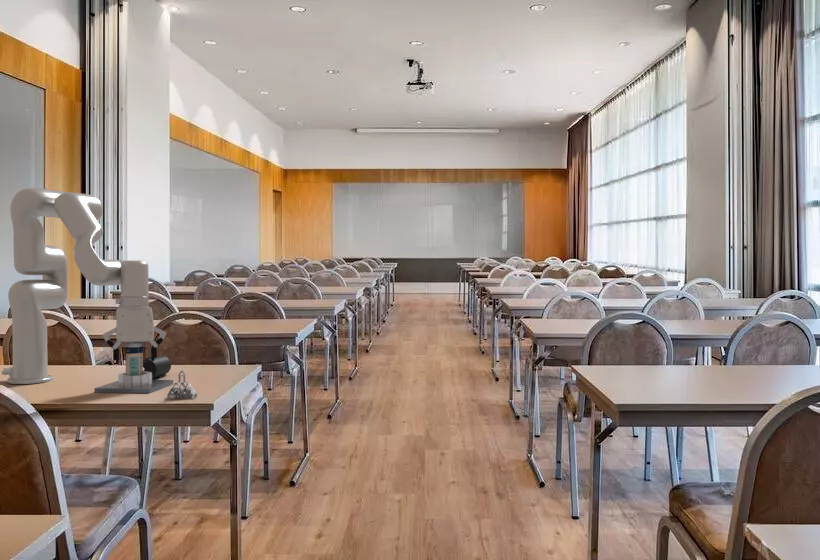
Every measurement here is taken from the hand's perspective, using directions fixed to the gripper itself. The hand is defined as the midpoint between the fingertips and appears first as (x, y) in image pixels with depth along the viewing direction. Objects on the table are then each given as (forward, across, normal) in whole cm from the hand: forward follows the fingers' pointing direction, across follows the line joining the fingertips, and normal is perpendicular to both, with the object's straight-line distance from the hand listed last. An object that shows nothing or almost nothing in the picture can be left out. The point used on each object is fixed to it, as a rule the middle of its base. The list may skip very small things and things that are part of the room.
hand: (135, 361), depth 204 cm
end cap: (+8, +7, +17) cm, 20 cm away
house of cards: (+8, +8, -23) cm, 25 cm away
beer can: (+7, 0, 0) cm, 7 cm away
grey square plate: (+8, 0, 0) cm, 8 cm away
